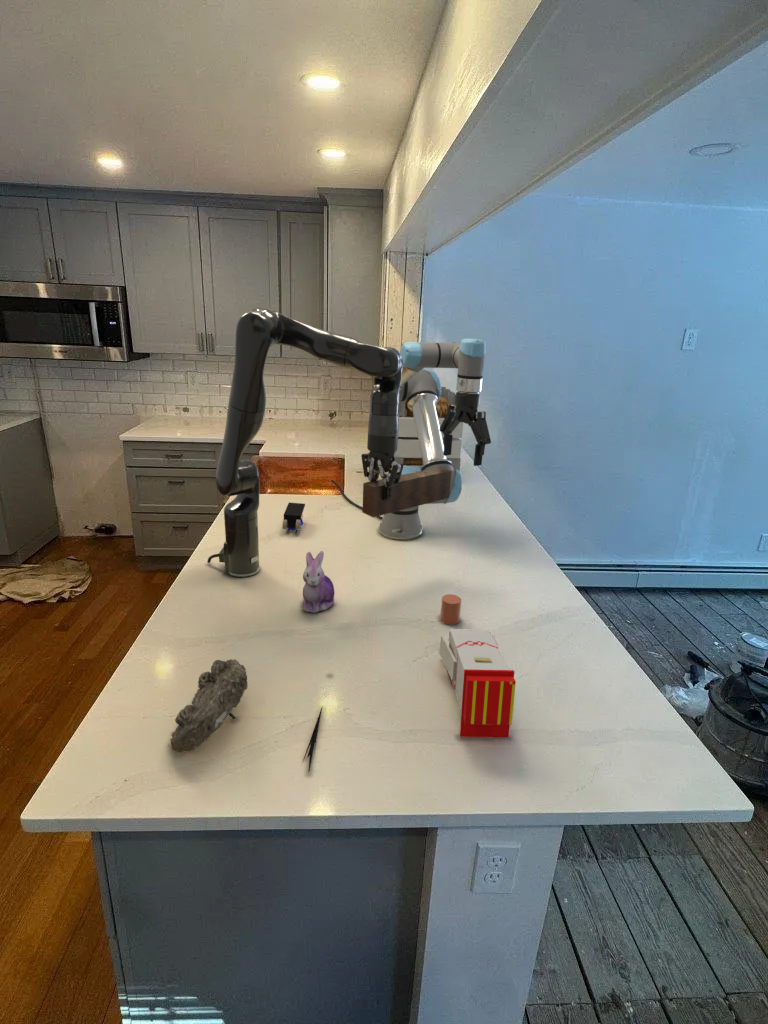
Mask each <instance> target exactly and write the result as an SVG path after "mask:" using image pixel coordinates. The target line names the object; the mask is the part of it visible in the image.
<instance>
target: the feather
mask: <svg viewBox="0 0 768 1024" xmlns="http://www.w3.org/2000/svg"><path fill="white" fill-rule="evenodd" d="M329 675H330V676H331V675H332V674H331V673H330V674H329ZM322 710H323V707H321V708H320V710H319V713H318V716H317V719H316V723H315V725H314V728H313V731H312V733H311V737H310V739H309V742H308V745H307V748H306V751H305V754H304V757H303V760H302V763H301V767H302V765H303V763H304V761H305V758H308V759H309V760H308V762H307V763H308V764H307V766H308V771H310V770H311V766H312V765H311V764H312V760H313V757H315V756H314V755H315V751H316V749H315V746H317V739H318V733H319V729H320V722H321V717H322V712H323V711H322ZM313 754H314V755H313ZM306 755H307V757H306Z"/></svg>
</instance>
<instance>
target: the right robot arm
mask: <svg viewBox="0 0 768 1024" xmlns="http://www.w3.org/2000/svg"><path fill="white" fill-rule="evenodd" d="M486 345H487V343H486V341H485V340H484V339H479V338H462V339H461V340H460V342H454V341H453V342H428V341H427V342H425V341H406V342H404V343H402V344H401V348H400V350H399V353H400V354H401V356H402V360H403V367H402V376H401V383H400V389H399V401H400V402H407V406H408V408H409V409H410V410H412V411H413V415H414V420H415V425H416V430H417V435H418V440H419V445H420V450H421V455H422V460H423V466H406V465H404V466H403V470H402V473H401V475H405V474H410V473H414V472H419V471H424V470H429V469H434V468H439V467H441V468H444V469H447V470H451V471H452V472H451V483H450V494H449V498H447V499H443V500H439V501H435V502H431V503H427V504H426V505H432V504H433V505H434V504H443V505H445V504H450V503H455V502H456V501H457V500H458V499H459V498H460V496H461V493H462V488H463V476H462V473H461V471H459V470H457V469H453V465H452V462H450V461H449V460H447V458H446V455H451V449H452V438H453V435H450V434H452V432H453V430H454V429H455V428H456V427H457V425H458V424H459V423H460V422H463V424H467V425H468V427H470V429H471V431H472V435H473V436H474V438H475V441H476V444H475V448H474V457H473V466H474V467H477V466H482V464H483V463H482V462H483V456H484V455H485V451H486V445H490V444H492V439H491V435H490V431H489V427H488V423H487V412H486V411H485V410H483V411H479V409H478V408H479V406H480V405H481V392H482V386H483V377H484V369H485V368H484V367H485V361H486V358H485V357H486V347H487V346H486ZM427 369H457V378H456V392H455V395H456V397H455V404H454V405H449V407H448V412H447V414H446V416H445V418H444V420H443V423H442V425H441V427H440V426H439V421H438V417H437V412H436V408H435V405H436V404H437V402H438V400H439V398H440V396H441V387H442V383H441V379H440V376H439V375H438V374H437V373H436V372H435V371H433V370H427ZM455 413H456V415H455ZM454 415H455V417H454ZM453 417H454V418H453ZM452 419H453V420H452ZM451 421H452V422H451ZM441 432H443V434H444V440H442V435H441ZM388 473H389V472H387V474H388ZM387 478H388V477H387ZM330 482H331V483H332V484H334V485H335V486H336V487H337V489H338V491H339V492H340V493H341V495H342V497H343V498H344V499H345V500H346V501H348V503H350V504H351V505H353V506H354V507H357V508H358V509H360V510H362V509H363V506H361V505H359V504H357V503H355V502H354V501H352V500H351V499H350V498H348V496H347V495H346V494H345V493H344V491H343V489H341V487H340V485H339V484H338V483H337V482H336V481H335V480H333V479H331V480H330ZM419 507H420V506H416V507H412V508H408V509H404V510H400V511H396V512H392V513H388V514H385V515H381V516H377V517H376V518H378V519H379V520H381V522H379V526H378V533H379V534H380V535H381V536H382V537H385V538H387V539H389V540H395V541H410V540H415V539H418V538H420V537H421V536H422V535H423V525H422V524H421V518H420V515H419Z"/></svg>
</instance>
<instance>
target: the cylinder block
mask: <svg viewBox="0 0 768 1024" xmlns="http://www.w3.org/2000/svg"><path fill="white" fill-rule="evenodd" d="M440 603H441V604H440V612H439V613H440V614H439V620H440V622H441V623H443V624H446V625H451V626H452V625H457V624H459V622H460V620H461V619H460V618H461V610H462V609H461V608H462V598H461V596H459V595H457V594H453V593H450V594H449V593H448V594H444V595H442V597H441V602H440Z"/></svg>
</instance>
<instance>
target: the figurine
mask: <svg viewBox="0 0 768 1024" xmlns="http://www.w3.org/2000/svg"><path fill="white" fill-rule="evenodd" d="M324 556H325V552H324V551H323V550H320V551H319V552H318V553H317V555H316V557H315V558H314V556H313V555H312V552H311V551H308V552H306V556H305V563H306V567H305V568H304V571H303V574H302V579H303V581H304V583H305V584H304V585H303V588H302V596H303V602H302V604H303V609H304V612H308V613H309V612H310V613H318V612H321V611H322V612H323V611H326V610H327V609H329V608H330V607H332V606H333V604H334V600H335V587H334V582H333V581H332V580H331V578H330V577H329V576H327V575H326V574H325V571H324V569H323V567H322V564H323V560H324Z"/></svg>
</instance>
